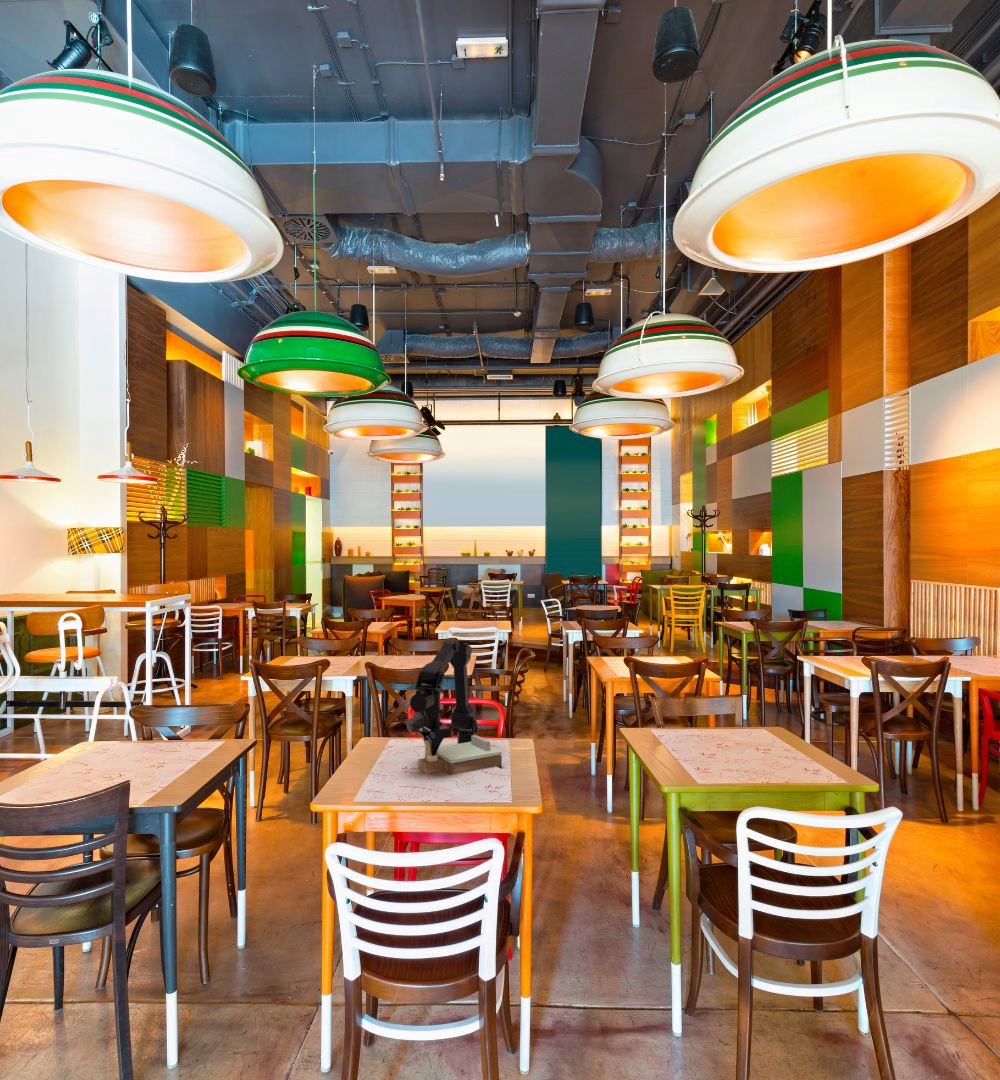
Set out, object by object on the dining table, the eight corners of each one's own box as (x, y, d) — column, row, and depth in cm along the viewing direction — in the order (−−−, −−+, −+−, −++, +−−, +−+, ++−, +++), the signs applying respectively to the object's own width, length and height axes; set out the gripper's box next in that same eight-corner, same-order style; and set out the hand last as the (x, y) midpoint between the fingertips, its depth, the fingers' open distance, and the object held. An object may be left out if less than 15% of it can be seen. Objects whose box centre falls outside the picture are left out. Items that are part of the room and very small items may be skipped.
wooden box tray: (412, 767, 220) (412, 755, 220) (477, 756, 233) (477, 744, 233) (433, 781, 206) (433, 767, 206) (501, 768, 219) (501, 755, 219)
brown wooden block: (424, 768, 215) (425, 740, 215) (433, 766, 217) (433, 738, 217) (428, 770, 212) (429, 742, 213) (437, 769, 214) (437, 741, 214)
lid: (429, 751, 223) (429, 739, 223) (477, 743, 233) (477, 732, 233) (450, 763, 209) (451, 750, 210) (501, 754, 219) (501, 742, 220)
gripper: (397, 703, 219) (396, 751, 218) (421, 714, 203) (420, 765, 203) (427, 700, 225) (427, 746, 224) (453, 710, 209) (452, 760, 208)
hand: (431, 754), depth 215 cm, fingers closed on brown wooden block, 3 cm apart
